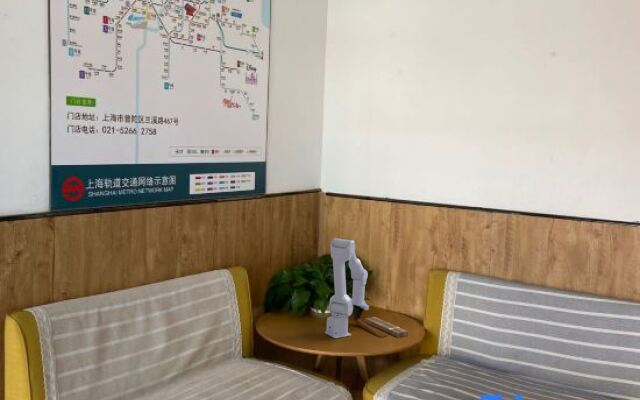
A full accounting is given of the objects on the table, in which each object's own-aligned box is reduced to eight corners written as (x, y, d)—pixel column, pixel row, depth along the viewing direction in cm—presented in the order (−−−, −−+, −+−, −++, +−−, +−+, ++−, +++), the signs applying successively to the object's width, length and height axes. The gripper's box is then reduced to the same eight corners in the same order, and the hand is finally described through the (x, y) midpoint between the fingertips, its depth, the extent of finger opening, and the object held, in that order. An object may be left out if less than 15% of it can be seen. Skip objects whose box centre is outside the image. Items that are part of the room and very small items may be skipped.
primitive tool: (388, 336, 265) (389, 328, 264) (380, 338, 261) (380, 330, 261) (359, 324, 279) (360, 317, 279) (351, 326, 276) (351, 319, 275)
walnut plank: (397, 337, 263) (398, 332, 263) (365, 322, 283) (365, 318, 283) (407, 335, 267) (407, 331, 266) (374, 320, 286) (375, 316, 286)
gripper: (374, 296, 274) (372, 323, 275) (355, 288, 285) (354, 315, 287) (362, 297, 270) (361, 325, 271) (344, 290, 281) (342, 317, 283)
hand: (356, 320), depth 279 cm, fingers closed
